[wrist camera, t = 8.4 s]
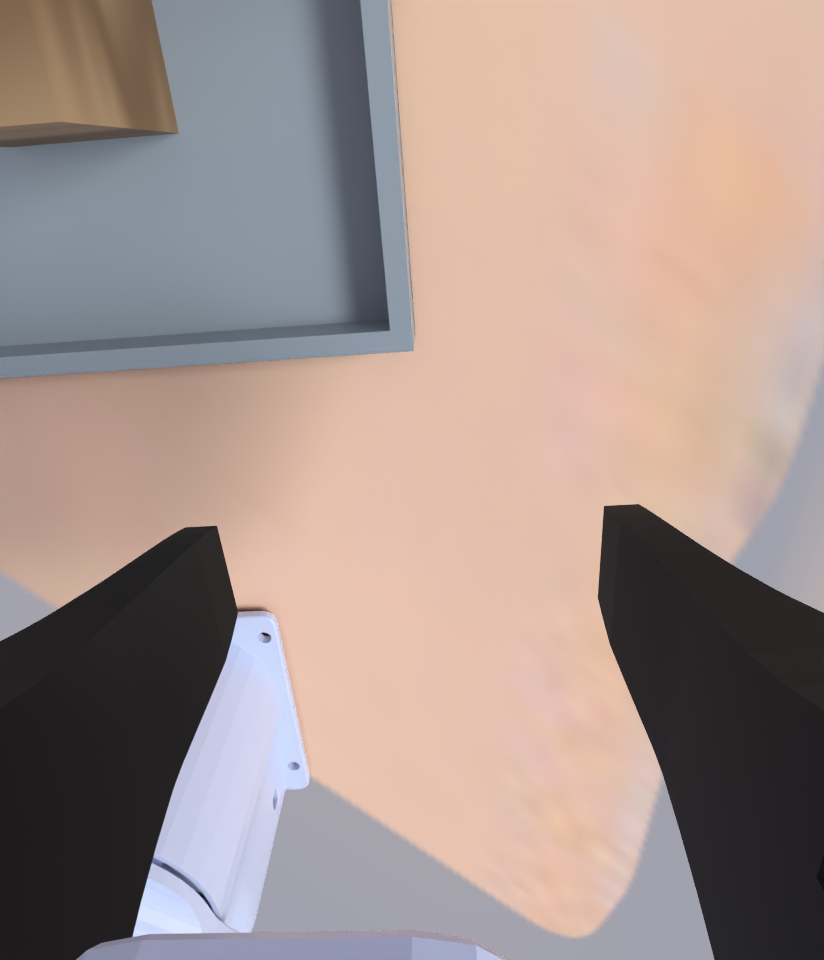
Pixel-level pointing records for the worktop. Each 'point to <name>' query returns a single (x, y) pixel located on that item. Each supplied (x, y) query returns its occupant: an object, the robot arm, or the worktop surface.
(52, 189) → the tray
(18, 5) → the block
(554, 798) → the worktop surface
